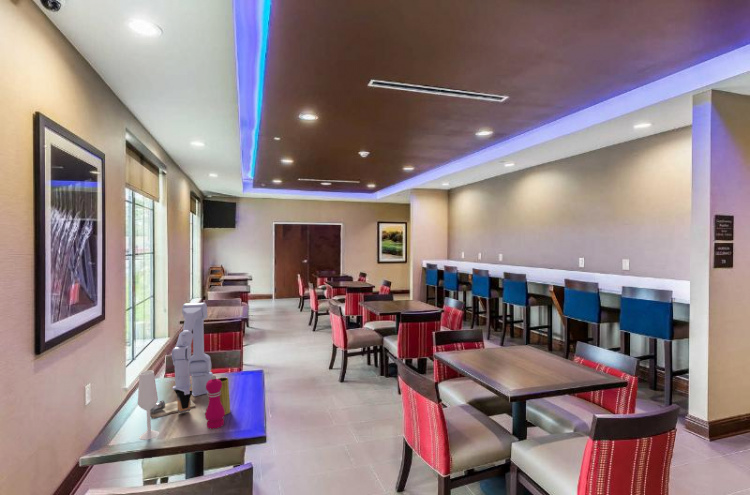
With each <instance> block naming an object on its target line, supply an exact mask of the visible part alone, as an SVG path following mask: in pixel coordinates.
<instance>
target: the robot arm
mask: <svg viewBox="0 0 750 495" xmlns="http://www.w3.org/2000/svg"><path fill="white" fill-rule="evenodd" d="M181 312H182V316H183V318H184V322H183V328H182V331H181V332H179V334H178V337H177V341H176V345H175V347H174V348H173V349H172V351H171V360H172V364H173V366H174V381H175V383H174V384H175V385H173V386H172V390H173V391H174V392H175V394H176V397H177V396H179V398H180V401H181V406H182V409H185V408H188V405H189V400H191V397H192V396H193V397H198V396H202V395H206V394H207V393H208V391H207V390H206V383H207V382H208V381H209V380H211V377H212V376H213V375H214V374H213V372H212V371H211V370H212V361H211V356H210V355H209V354H207V353H206V352H205V334H204V333H205V331H204V330H205V328H204V326H205V325H204V324H205V322H204V321H205V320H206V319H208V305H207V303H206V302H193V303H192V302H191V303H188V302H187V303H184V304H183V305H182V308H181ZM192 343H193V344H192ZM192 345H193V346H192ZM192 351H193V354H192ZM207 395H208V394H207Z"/></svg>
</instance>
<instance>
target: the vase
mask: <svg viewBox="0 0 750 495" xmlns="http://www.w3.org/2000/svg"><path fill="white" fill-rule="evenodd" d="M217 379H219V380H221V382H222V388H221V389H220V390H221V395H220V401H221V404H222V406H223V408H224V410H225V415H224V416H227V415H230V413H231V402H230V399H231V398H230V387H229V386H230V385H229V378H228V377H217Z"/></svg>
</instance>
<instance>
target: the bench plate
mask: <svg viewBox="0 0 750 495" xmlns="http://www.w3.org/2000/svg"><path fill="white" fill-rule="evenodd" d="M177 408H178V405H177V400H175V401H171V402H168V403H165V409H163V412H160V413H157V414H152V413H150V418H151V419H155V418H158V417H159V418H160V417H164V416H167V415H171V414H175V413H179V412H178V409H177ZM194 408H196V404H195V403H194V402H193V401H192V400H191V403H190V410H191V409H194Z"/></svg>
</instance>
